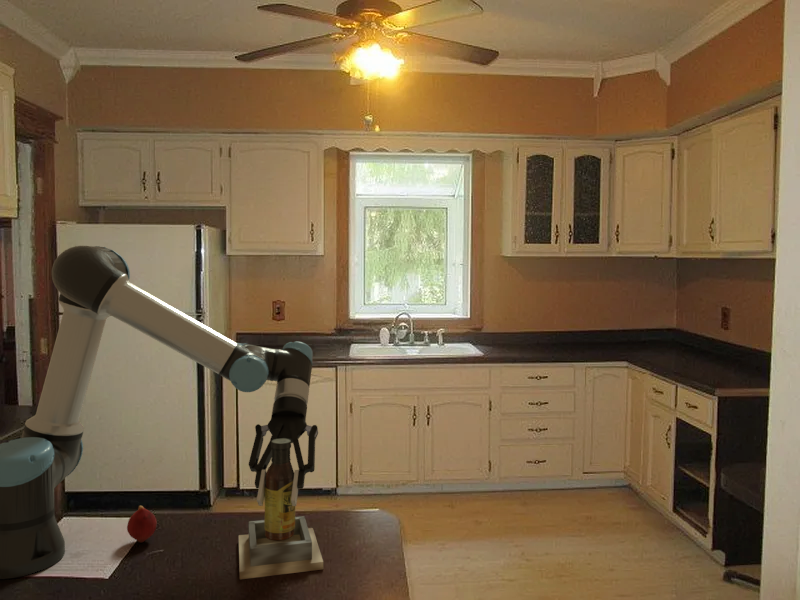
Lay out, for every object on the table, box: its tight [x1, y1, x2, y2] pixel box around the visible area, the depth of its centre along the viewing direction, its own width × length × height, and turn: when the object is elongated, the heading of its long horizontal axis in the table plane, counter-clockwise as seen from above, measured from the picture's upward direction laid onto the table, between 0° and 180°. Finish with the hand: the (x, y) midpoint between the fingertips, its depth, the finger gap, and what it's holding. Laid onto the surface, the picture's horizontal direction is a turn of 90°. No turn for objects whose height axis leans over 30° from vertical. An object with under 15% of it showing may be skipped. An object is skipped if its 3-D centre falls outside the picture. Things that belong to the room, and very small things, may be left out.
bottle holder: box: [238, 515, 324, 580], centre depth 125 cm, size 16×16×5 cm
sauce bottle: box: [263, 438, 296, 541], centre depth 124 cm, size 7×6×20 cm
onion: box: [126, 505, 158, 543], centre depth 130 cm, size 6×6×8 cm
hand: (276, 502), depth 121 cm, fingers closed on sauce bottle, 6 cm apart
